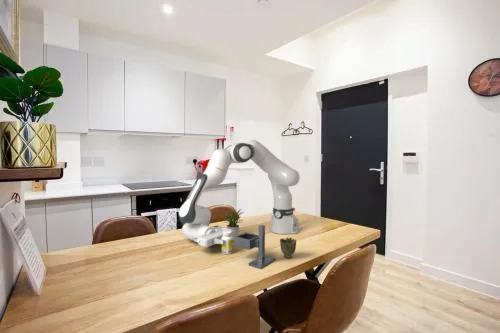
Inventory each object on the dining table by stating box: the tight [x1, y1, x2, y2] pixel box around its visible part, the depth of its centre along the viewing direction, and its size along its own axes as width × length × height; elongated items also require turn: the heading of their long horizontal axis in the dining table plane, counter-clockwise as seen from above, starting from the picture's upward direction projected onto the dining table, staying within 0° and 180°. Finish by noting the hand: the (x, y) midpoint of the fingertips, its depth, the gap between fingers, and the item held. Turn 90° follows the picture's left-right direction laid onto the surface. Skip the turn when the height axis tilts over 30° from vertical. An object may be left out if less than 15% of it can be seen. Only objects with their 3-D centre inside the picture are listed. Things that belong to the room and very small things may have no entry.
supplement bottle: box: [221, 231, 234, 255], centre depth 128 cm, size 5×5×10 cm
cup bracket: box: [233, 224, 277, 270], centre depth 118 cm, size 12×15×16 cm
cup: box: [279, 237, 298, 259], centre depth 122 cm, size 8×7×8 cm
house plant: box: [223, 208, 244, 237], centre depth 153 cm, size 14×14×16 cm
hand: (228, 240), depth 127 cm, fingers closed on supplement bottle, 5 cm apart
